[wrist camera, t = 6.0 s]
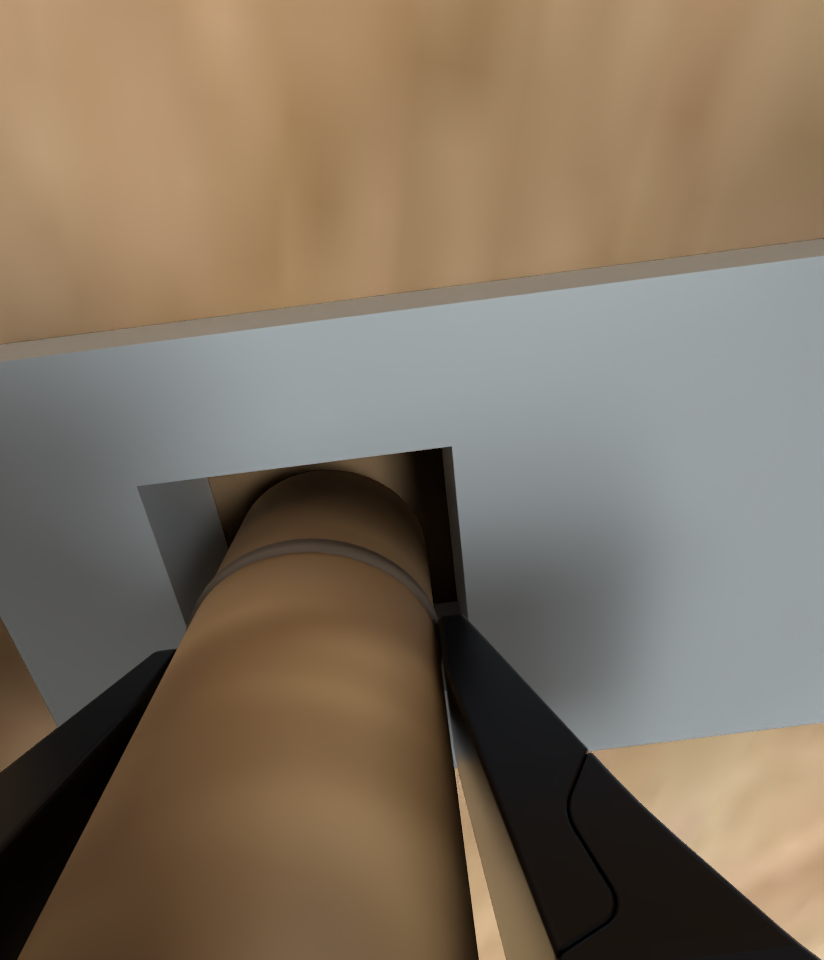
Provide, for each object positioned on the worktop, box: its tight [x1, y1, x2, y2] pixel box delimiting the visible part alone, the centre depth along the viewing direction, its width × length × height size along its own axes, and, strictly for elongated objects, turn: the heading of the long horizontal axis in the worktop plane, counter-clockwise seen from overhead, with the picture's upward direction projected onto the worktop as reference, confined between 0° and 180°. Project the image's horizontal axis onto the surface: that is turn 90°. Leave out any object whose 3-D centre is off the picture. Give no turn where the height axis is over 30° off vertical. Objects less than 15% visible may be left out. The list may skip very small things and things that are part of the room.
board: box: [0, 238, 824, 768], centre depth 12 cm, size 18×10×3 cm, turn 97°
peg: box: [17, 470, 479, 960], centre depth 8 cm, size 4×4×9 cm
